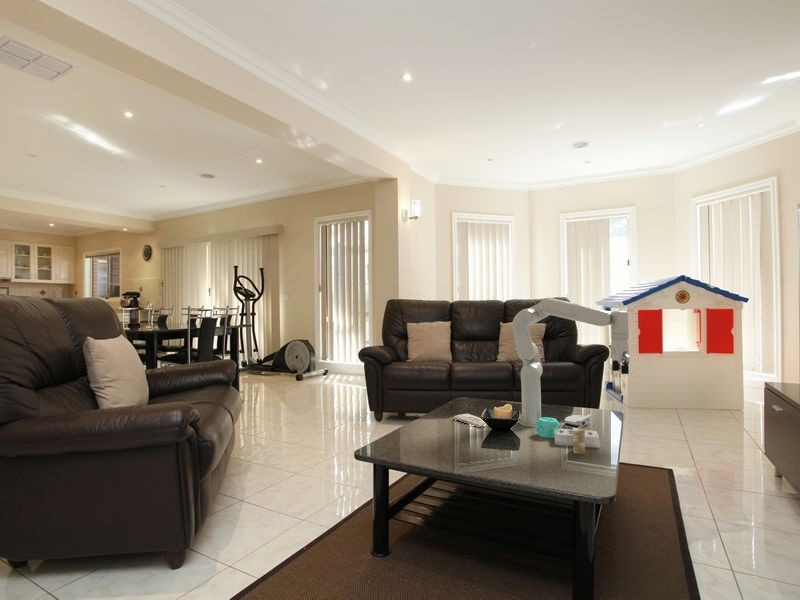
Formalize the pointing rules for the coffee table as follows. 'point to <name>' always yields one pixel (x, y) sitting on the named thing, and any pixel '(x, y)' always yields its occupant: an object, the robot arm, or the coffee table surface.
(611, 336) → the robot arm
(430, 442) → the coffee table surface
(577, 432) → the beech peg
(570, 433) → the rail block
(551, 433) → the decorative dice
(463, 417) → the newspaper
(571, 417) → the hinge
